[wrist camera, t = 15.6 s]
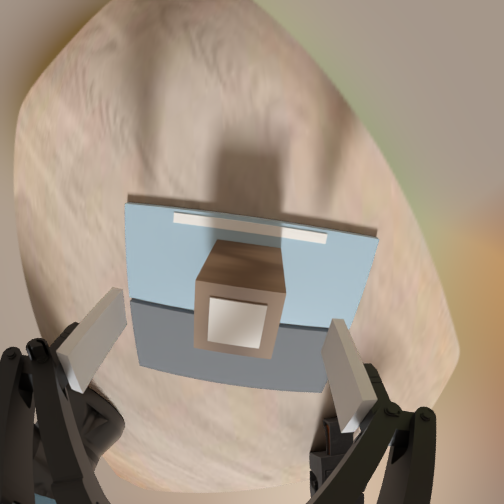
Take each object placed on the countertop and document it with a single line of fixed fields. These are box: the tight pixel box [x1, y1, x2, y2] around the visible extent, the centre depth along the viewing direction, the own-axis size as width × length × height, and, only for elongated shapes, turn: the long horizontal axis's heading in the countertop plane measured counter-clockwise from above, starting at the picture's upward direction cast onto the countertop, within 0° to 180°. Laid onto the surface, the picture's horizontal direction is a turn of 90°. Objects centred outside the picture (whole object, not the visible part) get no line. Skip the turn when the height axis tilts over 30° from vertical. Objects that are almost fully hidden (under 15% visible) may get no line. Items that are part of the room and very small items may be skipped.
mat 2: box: [130, 298, 329, 393], centre depth 26 cm, size 21×9×1 cm, turn 83°
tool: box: [309, 417, 367, 504], centre depth 28 cm, size 6×19×15 cm, turn 6°
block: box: [194, 239, 286, 359], centre depth 19 cm, size 5×5×7 cm
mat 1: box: [125, 202, 379, 329], centre depth 22 cm, size 21×9×1 cm, turn 83°
